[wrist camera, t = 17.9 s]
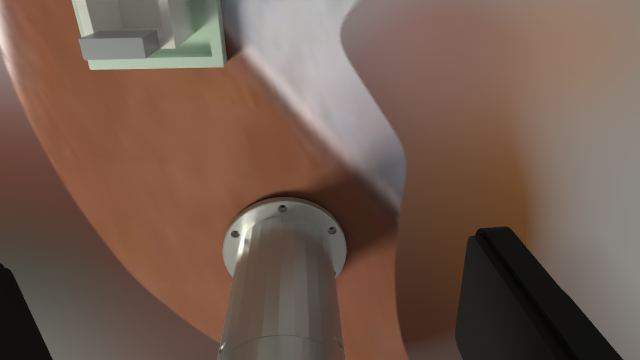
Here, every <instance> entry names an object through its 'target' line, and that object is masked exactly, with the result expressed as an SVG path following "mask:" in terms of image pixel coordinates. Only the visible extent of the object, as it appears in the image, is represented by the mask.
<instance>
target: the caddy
mask: <svg viewBox="0 0 640 360" xmlns="http://www.w3.org/2000/svg"><path fill="white" fill-rule="evenodd" d="M75 1H76V4H77V8H78V12H79V16H80V20H81V23H82V27H83V31H84V35H85V37H82V38H80V39H79V43H80V47H81V50H82V54H83V58H84V60H112V59H146V58H148V57H149V56H151V55H152V54H154V53H155V52H156V51H158V50H159V49H176V48H177V47H178V46H179V45H181V44H182V43H183V42H184V41H186V40H187V39H188V38H190V37H191V36H192V35H193V34H195V33H194V27H193V20H192V13H191V6H190V0H75Z"/></svg>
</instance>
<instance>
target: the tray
mask: <svg viewBox="0 0 640 360" xmlns="http://www.w3.org/2000/svg"><path fill="white" fill-rule="evenodd" d="M72 3H73V7H74V10H75V14H76V18H77V22H78V26H79V29H80V33H81V37H85V35H84V31H83V27H82V23H81V20H80V16H79V12H78V8H77V4H76V1H75V0H72ZM190 6H191V13H192V20H193V27H194V33H195V34H193V35H192V36H191V37H190V38H188V39H187V40H186V41H184V42H183V43H182V44H181V45H179V46H178V47H177V48H176V49H159V50H158V51H156V52H155V53H154V54H152V55H151V56H149V57H148V58H146V59H112V60H88V64H89V67H90V70H98V69H149V68H199V67H224V66H225V64H226V63H227V54H226V45H225V36H224V26H223V17H222V8H221V0H190Z"/></svg>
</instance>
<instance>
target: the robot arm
mask: <svg viewBox="0 0 640 360" xmlns="http://www.w3.org/2000/svg"><path fill="white" fill-rule="evenodd" d="M282 205H284V206H282ZM346 254H347V248H346V240H345V236H344V232H343V230H342V228H341V226H340V224H339V223H338V221H337V220H336V219H335V217H334V216H333V215H332V214H330V213H329V212H328V211H327V210H326V209H324V208H323V207H321V206H319V205H317V204H316V203H313V202H310V201H308V200H305V199H300V198H294V197H276V198H270V199H266V200H263V201H260V202H257V203H254V204H253V205H251V206H249V207H247V208H245V209H244V210H243V211H242V212H241V213H239V214H238V215H237V216H236V217H235V219H234V220H233V221H232V222H231V224H230V226H229V228H228V230H227V232H226V235H225V239H224V242H223V258H224V263H225V265H226V268H227V270H228V272H229V273H230V275H231V276H232V278H233V279H232V285H231V290H230V295H229V301H228V306H227V311H226V317H225V322H224V327H223V332H222V338H221V343H220V348H219V354H218V359H217V360H346V359H345V352H344V344H343V336H342V328H341V320H340V313H339V305H338V297H337V289H336V281H335V279H336V278H337V277H338V275H339V274H340V272H341V270H342V269H343V266H344V263H345V261H346ZM455 336H456V343H457V346H458V349H459V351H460V354H461V356H462V358H463V360H623V359H622V358H621V357H620V355H619V354H618V353H617V352H616V351H615V350H614V348H613V347H612V346H611V345H610V344H609V343H608V341H607V340H606V339H605V338H604V337H603V336H602V334H601V333H600V332H599V331H598V330H597V328H596V327H595V326H594V325H593V324H592V322H591V321H590V320H589V319H588V318H587V317H586V315H585V314H584V313H583V312H582V311H581V309H580V308H579V307H578V306H577V305H576V304H575V302H574V301H573V300H572V299H571V298H570V297H569V296H568V295H567V294H566V293H565V292H564V291H563V290H562V289H561V288H560V287H559V286H558V285H557V284H556V282H555V281H554V280H553V278H552V277H551V276H550V275H549V274H548V273H547V271H546V270H545V269H544V268H543V267H542V265H541V264H540V263H539V262H538V261H537V259H536V258H535V257H534V256H533V255H532V254H531V252H530V251H529V250H528V249H527V248H526V246H525V245H524V244H523V243H522V242H521V240H520V239H519V238H518V237H517V236H516V235H515V233H514V232H513V231H512V230H511V229H510V228H508V227H494V228H480V229H478V231H477V232H476V235H475V236H470V237H469V239H468V242H467V249H466V256H465V263H464V271H463V278H462V286H461V292H460V300H459V307H458V315H457V321H456V329H455ZM0 360H53V359H52V357H51V356H50V353H49V351H48V349H47V346H46V345H45V342H44V340H43V338H42V336H41V334H40V331H39V329H38V327H37V325H36V323H35V321H34V319H33V317H32V314H31V312H30V310H29V308H28V306H27V303H26V301H25V300H24V297H23V295H22V293H21V291H20V288H19V286H18V284H17V282H16V280H15V278H14V275H13V274H12V272H11V270H9V269H8V268H4V266H3V265H2V264H1V263H0Z"/></svg>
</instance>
